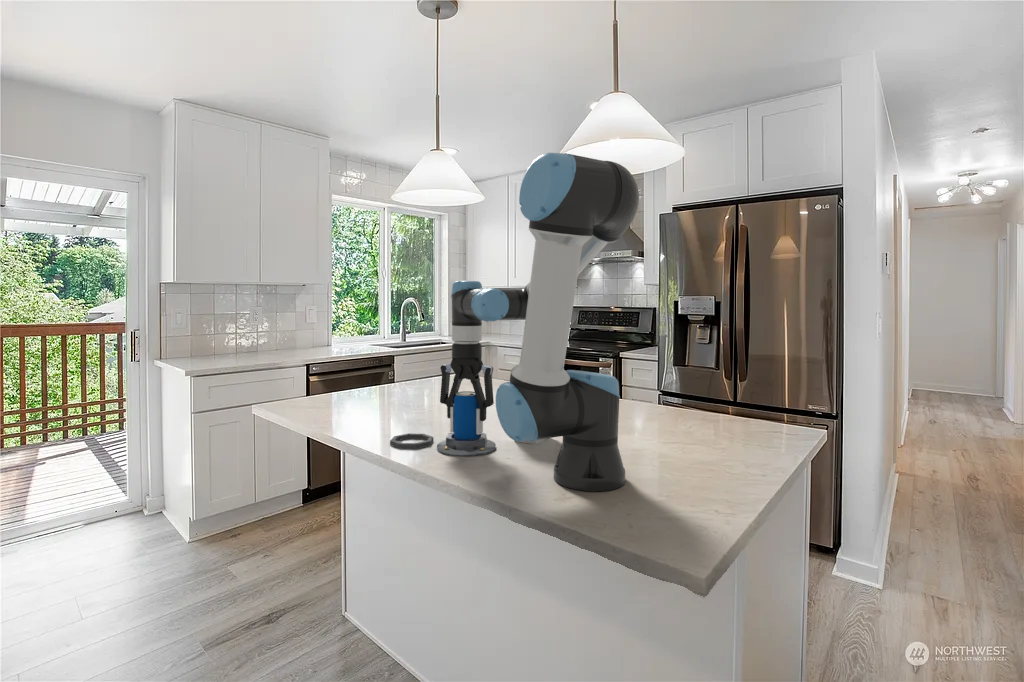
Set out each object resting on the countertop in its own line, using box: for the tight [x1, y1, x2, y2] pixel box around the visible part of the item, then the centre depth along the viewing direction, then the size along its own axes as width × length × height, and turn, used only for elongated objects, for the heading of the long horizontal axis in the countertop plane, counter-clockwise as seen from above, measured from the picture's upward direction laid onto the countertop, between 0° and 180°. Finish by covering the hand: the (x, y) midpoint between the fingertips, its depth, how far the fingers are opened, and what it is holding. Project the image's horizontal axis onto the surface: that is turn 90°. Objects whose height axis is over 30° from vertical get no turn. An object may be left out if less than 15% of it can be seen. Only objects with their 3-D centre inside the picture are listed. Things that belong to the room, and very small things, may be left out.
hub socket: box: [436, 432, 497, 458], centre depth 137 cm, size 15×15×3 cm
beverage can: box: [454, 390, 479, 440], centre depth 136 cm, size 6×6×12 cm
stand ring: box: [389, 432, 434, 450], centre depth 141 cm, size 10×10×1 cm
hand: (466, 431), depth 137 cm, fingers closed on beverage can, 6 cm apart
